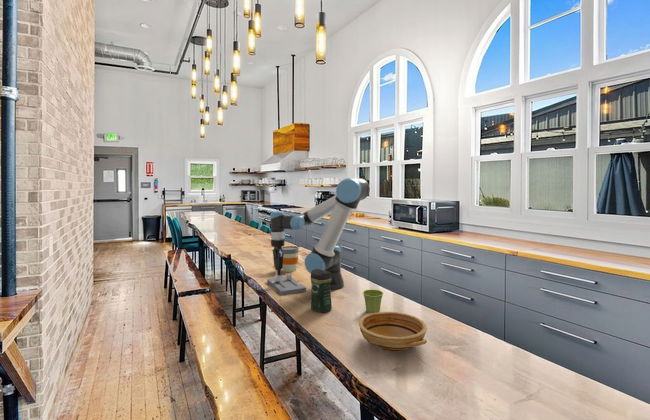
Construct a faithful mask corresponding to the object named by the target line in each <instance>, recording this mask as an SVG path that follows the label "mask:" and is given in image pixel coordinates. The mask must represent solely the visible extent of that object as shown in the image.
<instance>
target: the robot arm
mask: <svg viewBox="0 0 650 420" xmlns="http://www.w3.org/2000/svg"><path fill="white" fill-rule="evenodd" d="M335 193H336V195H333V196H332V197H330V198H328V199H326V200H324V201H323V202H321V203H319V204H317V205H315V206H314V207H312V208H310V209H308V210H306V211H303V213H299V214H298V213H297V214H294V215H290V214H289V215H286V214H285V212H284V211H282V210H274V211H271V212H270V218H269V221H270V233H269V235H270V246H271V247H272V248H273V249H272V258H273V267H274V269H275V276H276V281H281V277H282V270H283V268H282V267H283V255H284V253H282V248H281V247H285V237H286V236H285V230H294V231H297V230H299V231H300V230H302V229H303V228H304V227H309V226H312V225H313V223H315V222H317V221H319V220H320V219H323V218H324V217H327V216H329V215H330V214H331V215H330V217H329V219H328V222H327V224H325V225H326V226H325V228H324V231H323V233H322V235H321V237H320V239H319V241H318V243H316V244H314V245H313V247H312V250H311V252H310V253H307V255H306V256H305V258H304V266H305V269H306V270H307V272H308V273H309V274H311V272H312V270H315V269H321V270H324V271H329V272H330V273H331V284H330V289H331V290H338V289H342V288H343V287H344V286H345V281H344V278H343V275H342V272H341V271H342V269H341V268H342V267H341V266H342V265H341V264H342V263H341V262H342V260H341V259H342V256H341V255H342V252H341V246H339V245H337V244H338V242H339V239H340V237H341V235H342V233H343V231H344V229H345V227H346V224H347V222H348V220H349V217H350V215H351V213H352V211H354V210H356V209H357V208H358V206H359V204H360V201H363V200H365V199H366V198H367V197H368V196H369V194H370V185H369V182H367V180H366V179H364V178H361V177H357V178H356V177H355V178H354V177H347V178H345V179H343V180H341V181H339V183H338V184H337V186H336V189H335Z"/></svg>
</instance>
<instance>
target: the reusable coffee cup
mask: <svg viewBox="0 0 650 420" xmlns="http://www.w3.org/2000/svg"><path fill="white" fill-rule="evenodd" d="M281 248H282V253H284V255H283V267H282V271H283V272H284V271H285V272H284V273H292V271H294V272H296V271H297V267H298V266H297V265H298V263H299V247H298V246H291V245H289V246H288V245H287V246H282V247H281Z"/></svg>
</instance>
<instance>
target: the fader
mask: <svg viewBox="0 0 650 420" xmlns="http://www.w3.org/2000/svg"><path fill="white" fill-rule="evenodd" d="M285 277H286V280H292V278H293V274H292V272H287V273H285Z"/></svg>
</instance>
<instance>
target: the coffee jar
mask: <svg viewBox="0 0 650 420" xmlns="http://www.w3.org/2000/svg"><path fill="white" fill-rule="evenodd" d="M310 283H311V297H310V298H311V299H310V308H311V310H313V311H315V312H318V313H328V312H330V311H331V310H332V295H331V294H332V293H331V291H332V289H330V284H331V273H330V272H329V271H324V270H321V269H315V270H312V272H311V273H310Z"/></svg>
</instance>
